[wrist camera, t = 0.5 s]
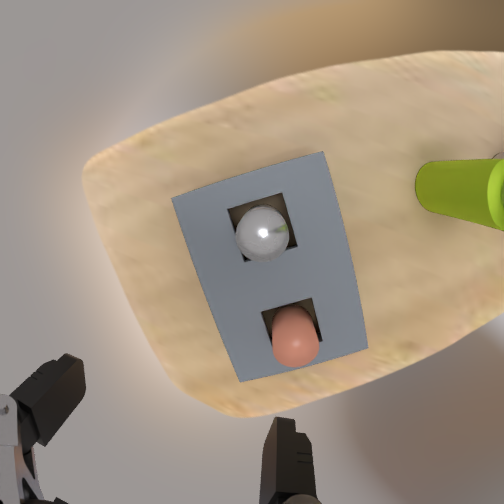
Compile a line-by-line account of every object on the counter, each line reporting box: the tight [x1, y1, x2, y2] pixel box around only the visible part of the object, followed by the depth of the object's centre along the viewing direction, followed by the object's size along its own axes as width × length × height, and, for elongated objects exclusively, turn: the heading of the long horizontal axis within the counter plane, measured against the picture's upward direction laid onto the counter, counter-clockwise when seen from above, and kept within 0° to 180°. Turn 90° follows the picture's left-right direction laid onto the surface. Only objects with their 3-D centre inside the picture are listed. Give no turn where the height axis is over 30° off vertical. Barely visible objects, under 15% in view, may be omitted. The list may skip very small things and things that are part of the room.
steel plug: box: [236, 204, 289, 262], centre depth 25 cm, size 4×4×5 cm
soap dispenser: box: [415, 159, 504, 231], centre depth 20 cm, size 6×7×20 cm
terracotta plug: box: [272, 304, 319, 367], centre depth 27 cm, size 4×4×5 cm
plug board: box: [171, 151, 368, 382], centre depth 30 cm, size 14×20×5 cm
